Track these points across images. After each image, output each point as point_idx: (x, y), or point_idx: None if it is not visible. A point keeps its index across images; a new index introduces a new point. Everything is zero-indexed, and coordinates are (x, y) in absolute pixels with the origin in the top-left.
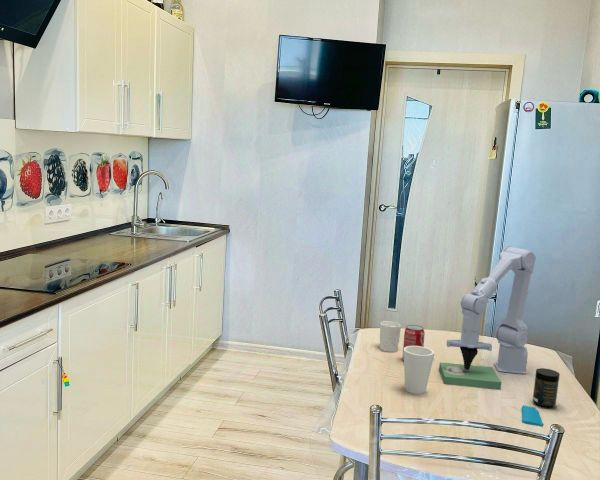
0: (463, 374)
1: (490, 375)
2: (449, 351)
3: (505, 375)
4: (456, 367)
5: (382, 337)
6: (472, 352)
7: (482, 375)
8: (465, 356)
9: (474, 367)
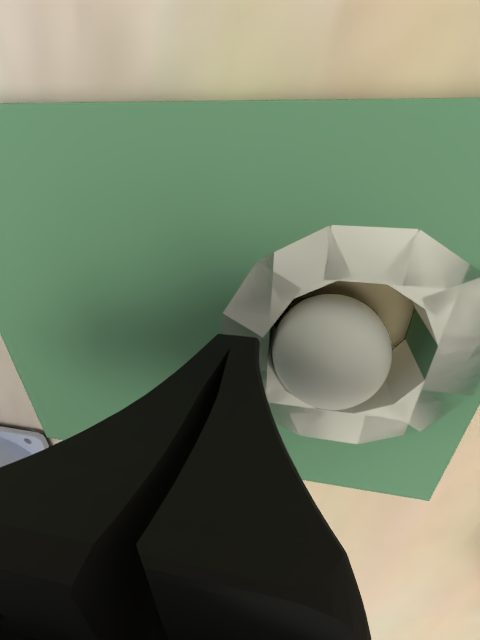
0: (291, 259)
1: (32, 285)
2: None
3: (6, 394)
4: (352, 365)
5: None
6: (43, 531)
7: (98, 272)
8: (252, 456)
9: None
